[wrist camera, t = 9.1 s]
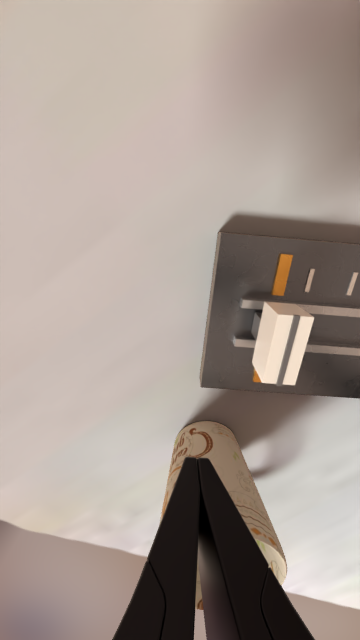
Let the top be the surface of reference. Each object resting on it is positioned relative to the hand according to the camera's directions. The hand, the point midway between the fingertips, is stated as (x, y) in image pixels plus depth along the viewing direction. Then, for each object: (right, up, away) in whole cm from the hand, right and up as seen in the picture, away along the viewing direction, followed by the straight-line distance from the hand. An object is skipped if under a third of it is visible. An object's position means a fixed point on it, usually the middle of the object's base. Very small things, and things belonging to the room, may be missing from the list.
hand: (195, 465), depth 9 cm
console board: (+11, +5, +11) cm, 17 cm away
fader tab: (+6, +5, +10) cm, 12 cm away
